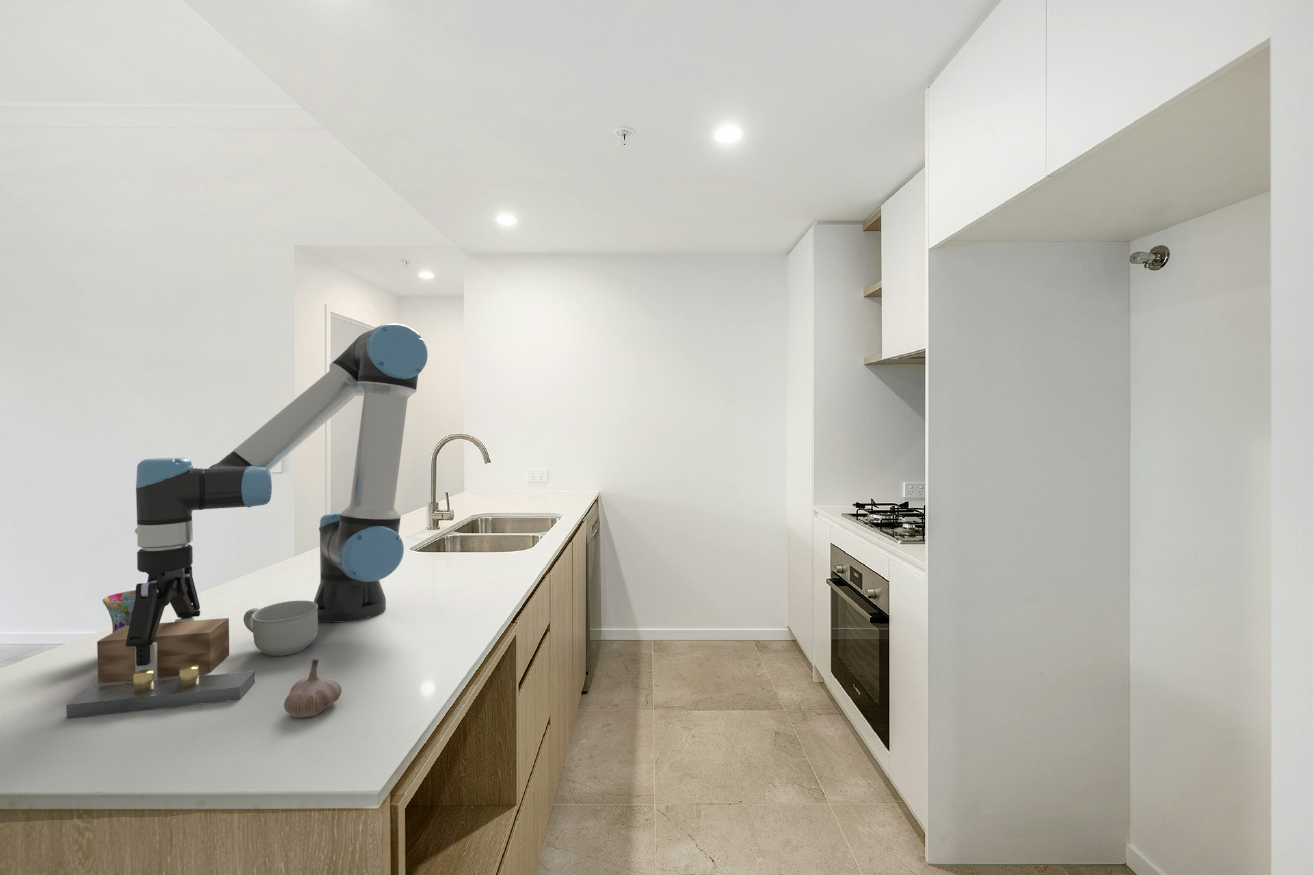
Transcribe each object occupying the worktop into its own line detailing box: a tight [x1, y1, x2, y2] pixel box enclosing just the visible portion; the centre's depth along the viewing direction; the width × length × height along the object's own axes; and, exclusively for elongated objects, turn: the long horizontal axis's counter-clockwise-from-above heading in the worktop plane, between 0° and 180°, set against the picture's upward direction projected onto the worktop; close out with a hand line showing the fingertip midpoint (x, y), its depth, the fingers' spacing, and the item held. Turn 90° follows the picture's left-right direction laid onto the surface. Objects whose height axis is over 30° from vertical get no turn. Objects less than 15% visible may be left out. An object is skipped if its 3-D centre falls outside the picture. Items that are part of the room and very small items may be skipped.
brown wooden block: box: [96, 617, 230, 684], centre depth 105 cm, size 16×8×7 cm, turn 106°
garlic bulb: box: [283, 657, 342, 719], centre depth 90 cm, size 8×7×8 cm
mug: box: [102, 589, 136, 633], centre depth 115 cm, size 12×9×11 cm
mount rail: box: [65, 665, 256, 719], centre depth 93 cm, size 22×6×5 cm, turn 106°
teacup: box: [243, 600, 319, 657], centre depth 114 cm, size 14×11×8 cm
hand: (166, 667), depth 105 cm, fingers open, 12 cm apart
